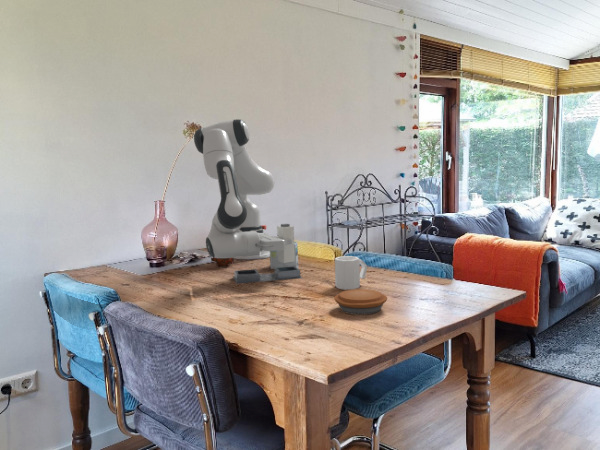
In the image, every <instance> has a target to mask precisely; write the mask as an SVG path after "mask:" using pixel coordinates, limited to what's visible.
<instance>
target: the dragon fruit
mask: <svg viewBox="0 0 600 450" xmlns="http://www.w3.org/2000/svg"><path fill="white" fill-rule="evenodd" d="M210 260H211V262H215V265H216V266H218V267H221V266H222V267H228V266H229V265H233V262H234V260H235V258H214V257H210Z"/></svg>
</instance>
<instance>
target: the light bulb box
mask: <svg viewBox="0 0 600 450" xmlns="http://www.w3.org/2000/svg"><path fill="white" fill-rule="evenodd" d="M298 251H299V249H298V241H294V252H295V262H287V263H283V262H279V261H278V251H270V257H269V259H270V260H269V264H270V265H269V266H270V267H269V269H270V270H272V269H273V270H274V268H277V267H290V266H296V267H297V268H298V269H299V253H298Z"/></svg>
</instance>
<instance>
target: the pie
mask: <svg viewBox="0 0 600 450" xmlns="http://www.w3.org/2000/svg"><path fill="white" fill-rule="evenodd" d="M333 299H334V301H335V302H336V304H338V306H339V308H340V309H341V311H343V313H346V314H350V315H371V314H372V315H373V314H375V313H379V311H380V310H381V309H382V307H383V306H384V304H385V303H386V302H387V300H388V297H387V295H385V294H383V293H382V292H380V291H378V290H372V289H364V288H363V289H361V288H360V289H359V288H356V289H348V290H343V291H341V292H340V293H338V294H337V295H335V296H334V297H333Z"/></svg>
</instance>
